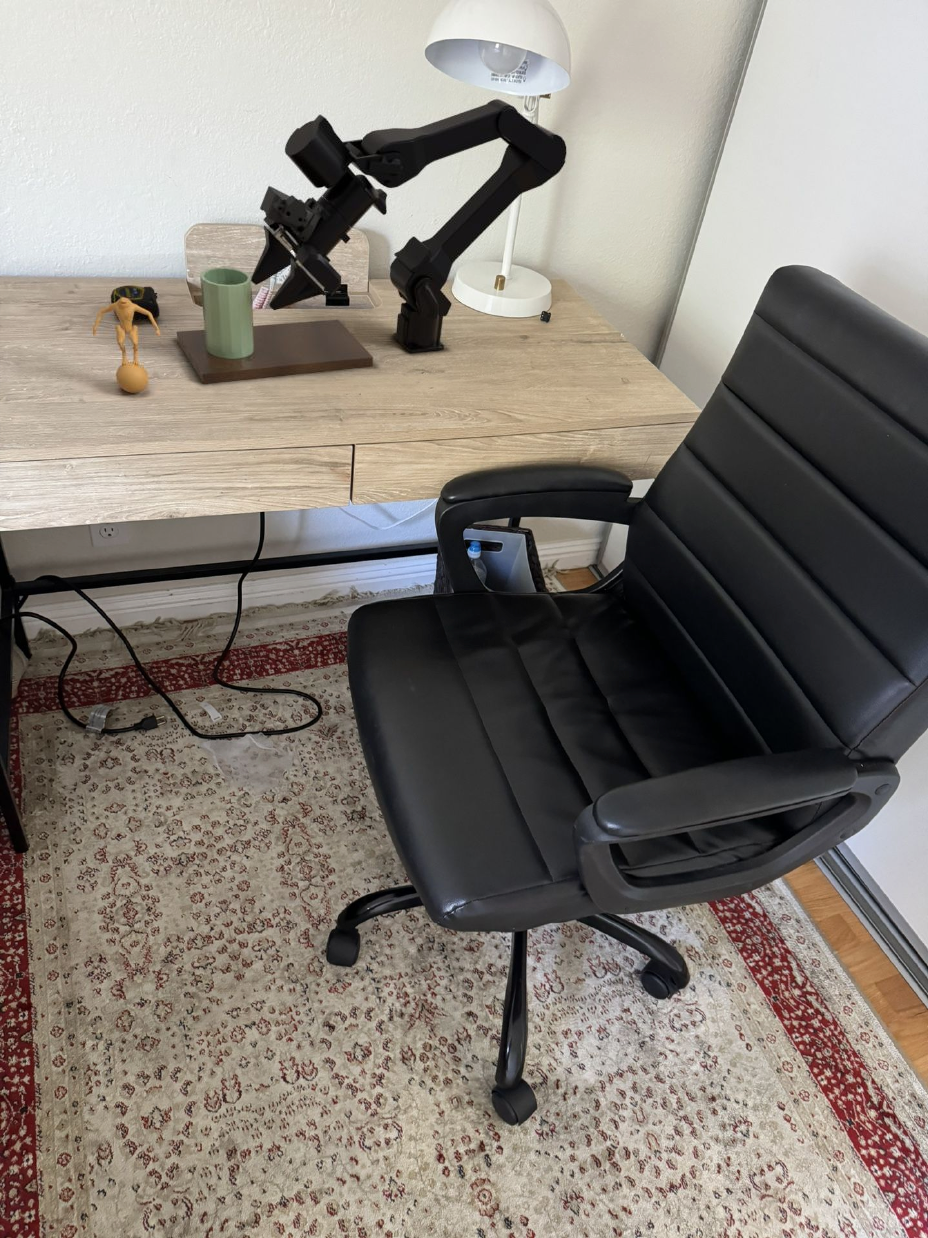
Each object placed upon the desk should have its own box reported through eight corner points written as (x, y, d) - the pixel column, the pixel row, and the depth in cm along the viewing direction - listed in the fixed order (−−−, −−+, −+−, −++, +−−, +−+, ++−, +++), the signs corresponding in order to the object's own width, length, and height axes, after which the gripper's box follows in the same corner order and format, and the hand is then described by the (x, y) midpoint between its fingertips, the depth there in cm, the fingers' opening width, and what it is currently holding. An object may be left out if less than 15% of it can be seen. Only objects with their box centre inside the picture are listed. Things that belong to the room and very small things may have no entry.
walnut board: (338, 327, 133) (338, 319, 132) (372, 366, 124) (373, 356, 123) (177, 340, 122) (176, 331, 121) (203, 383, 113) (202, 373, 112)
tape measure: (161, 325, 125) (158, 301, 122) (113, 325, 122) (109, 300, 120) (158, 307, 129) (156, 283, 127) (112, 306, 127) (109, 282, 125)
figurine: (99, 397, 107) (83, 307, 99) (103, 376, 111) (88, 288, 103) (166, 398, 109) (155, 310, 101) (167, 377, 113) (157, 292, 105)
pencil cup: (256, 340, 122) (253, 270, 115) (251, 360, 117) (248, 288, 110) (209, 336, 121) (204, 264, 114) (203, 356, 116) (197, 282, 109)
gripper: (275, 146, 113) (202, 231, 115) (320, 189, 101) (237, 281, 104) (328, 206, 121) (258, 284, 124) (375, 252, 110) (297, 336, 112)
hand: (262, 294), depth 116 cm, fingers open, 9 cm apart
